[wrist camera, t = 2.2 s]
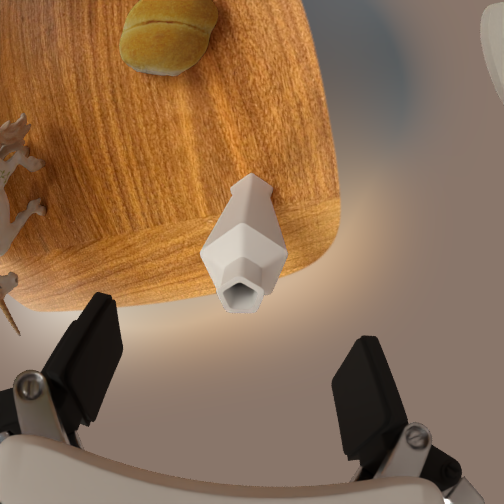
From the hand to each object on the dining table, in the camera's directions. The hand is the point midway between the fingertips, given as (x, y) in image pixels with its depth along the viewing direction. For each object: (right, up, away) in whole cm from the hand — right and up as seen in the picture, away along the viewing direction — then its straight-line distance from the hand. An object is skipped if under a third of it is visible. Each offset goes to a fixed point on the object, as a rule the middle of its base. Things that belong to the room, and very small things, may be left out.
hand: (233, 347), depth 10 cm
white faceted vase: (+1, +9, +16) cm, 18 cm away
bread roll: (-6, +23, +8) cm, 25 cm away
